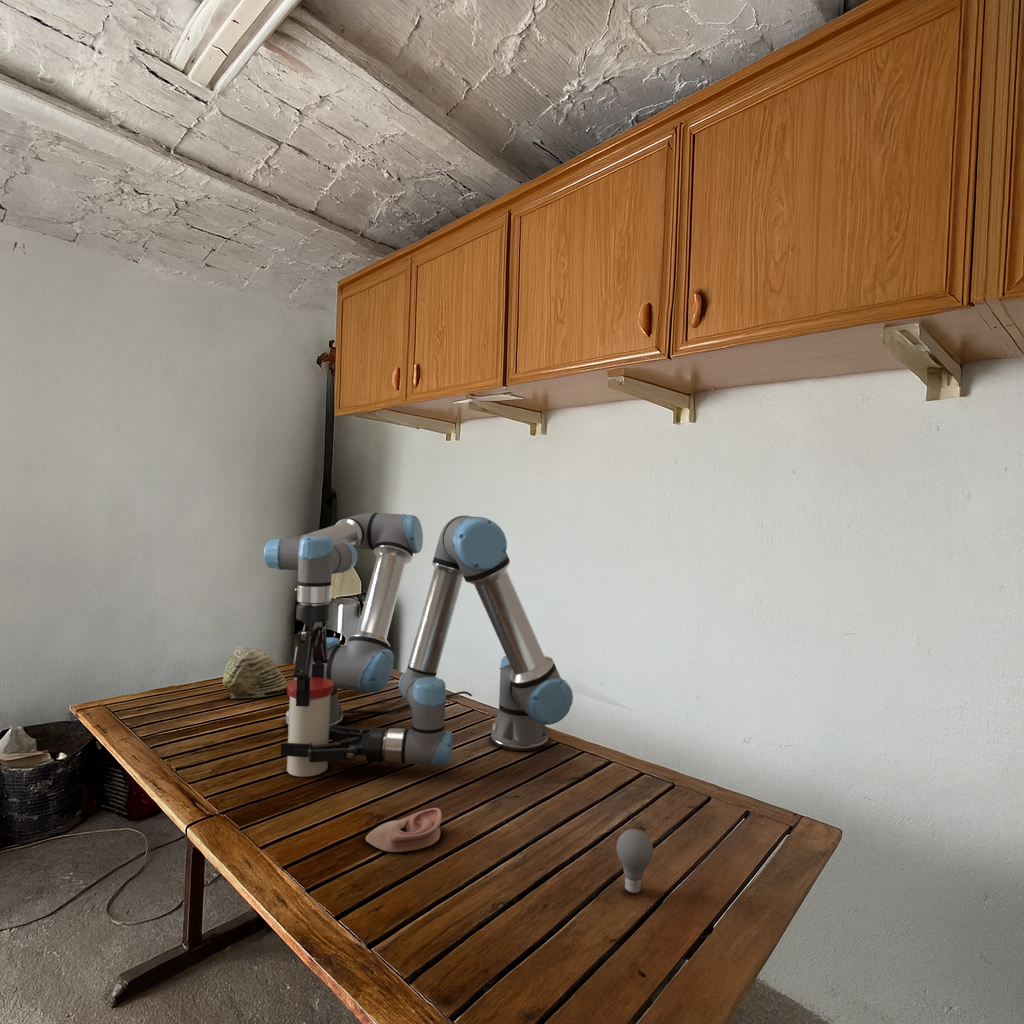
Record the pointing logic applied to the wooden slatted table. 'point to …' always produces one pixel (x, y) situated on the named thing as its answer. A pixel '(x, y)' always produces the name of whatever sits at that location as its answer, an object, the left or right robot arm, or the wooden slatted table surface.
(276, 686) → the fossil
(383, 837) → the anatomical model
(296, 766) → the jar
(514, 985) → the wooden slatted table surface
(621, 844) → the light bulb
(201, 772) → the wooden slatted table surface
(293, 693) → the lid
